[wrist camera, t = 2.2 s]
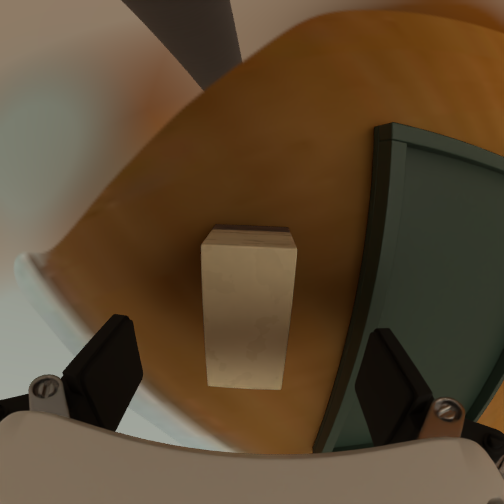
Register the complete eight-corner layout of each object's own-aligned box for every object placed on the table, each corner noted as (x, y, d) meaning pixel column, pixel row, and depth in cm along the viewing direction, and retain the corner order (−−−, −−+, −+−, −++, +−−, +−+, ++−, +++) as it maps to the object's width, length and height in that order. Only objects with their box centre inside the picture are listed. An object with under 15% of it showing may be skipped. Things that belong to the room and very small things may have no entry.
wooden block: (215, 224, 14) (200, 244, 10) (288, 227, 13) (297, 248, 10) (216, 344, 16) (207, 386, 12) (278, 347, 16) (281, 390, 12)
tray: (373, 126, 12) (392, 121, 10) (544, 182, 11) (562, 186, 9) (312, 448, 19) (314, 467, 17) (462, 418, 19) (469, 431, 17)
